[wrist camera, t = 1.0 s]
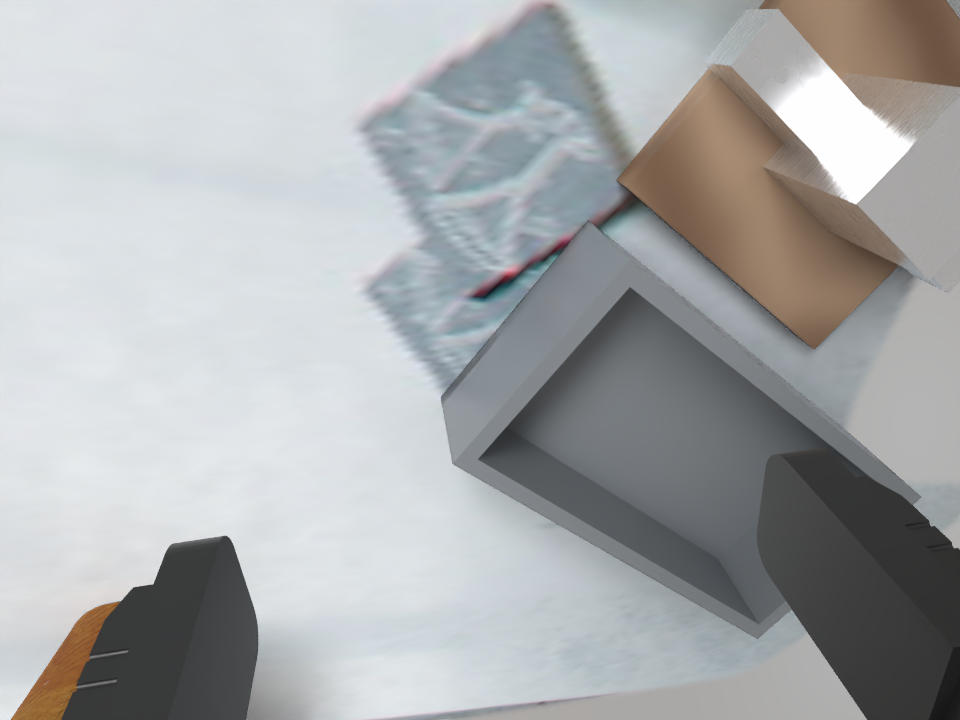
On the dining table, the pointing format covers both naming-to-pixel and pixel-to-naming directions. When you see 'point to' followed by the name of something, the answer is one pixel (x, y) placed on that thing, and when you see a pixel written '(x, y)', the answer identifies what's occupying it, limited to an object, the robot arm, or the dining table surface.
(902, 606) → the robot arm
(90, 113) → the dining table surface
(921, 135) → the strut
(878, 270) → the stud base
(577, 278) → the bin
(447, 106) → the dining table surface
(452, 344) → the dining table surface
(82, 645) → the disposable coffee cup
